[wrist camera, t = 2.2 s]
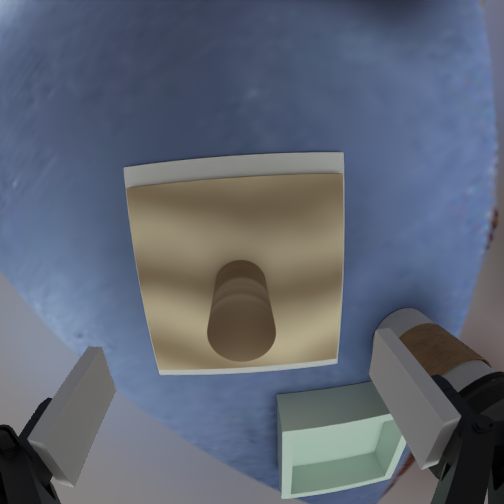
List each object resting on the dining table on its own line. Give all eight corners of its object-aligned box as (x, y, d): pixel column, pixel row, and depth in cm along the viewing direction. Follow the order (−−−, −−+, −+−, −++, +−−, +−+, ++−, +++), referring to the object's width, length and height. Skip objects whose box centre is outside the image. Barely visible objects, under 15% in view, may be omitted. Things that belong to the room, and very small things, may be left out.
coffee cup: (373, 384, 29) (432, 499, 14) (346, 324, 26) (421, 456, 12) (441, 342, 28) (524, 435, 13) (425, 278, 26) (538, 369, 11)
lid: (131, 186, 22) (80, 203, 14) (337, 172, 22) (386, 181, 14) (161, 361, 26) (140, 427, 18) (332, 350, 26) (361, 414, 19)
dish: (276, 394, 28) (282, 431, 24) (400, 375, 29) (420, 405, 24) (277, 467, 32) (281, 499, 27) (378, 450, 32) (390, 478, 28)
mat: (126, 167, 22) (123, 167, 21) (341, 152, 22) (343, 152, 22) (161, 370, 27) (159, 374, 27) (335, 359, 28) (337, 363, 27)
